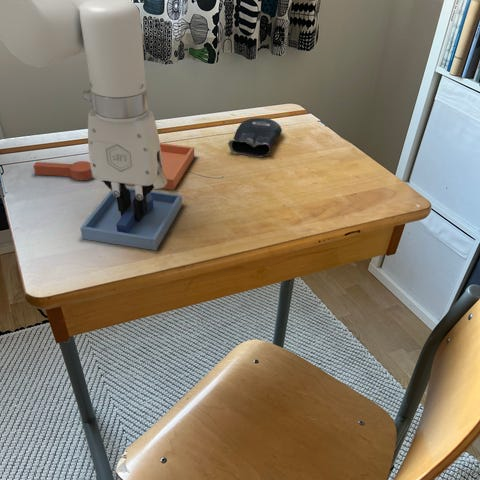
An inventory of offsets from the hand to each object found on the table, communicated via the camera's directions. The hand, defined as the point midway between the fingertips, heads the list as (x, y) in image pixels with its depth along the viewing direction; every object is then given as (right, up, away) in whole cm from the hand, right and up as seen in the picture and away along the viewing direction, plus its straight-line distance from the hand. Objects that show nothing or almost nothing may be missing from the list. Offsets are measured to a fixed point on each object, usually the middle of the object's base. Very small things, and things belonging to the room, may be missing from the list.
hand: (133, 215), depth 84 cm
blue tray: (0, -1, +1) cm, 1 cm away
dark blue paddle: (0, 0, 0) cm, 0 cm away
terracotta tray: (+1, +12, +15) cm, 20 cm away
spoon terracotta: (-15, +10, +12) cm, 22 cm away
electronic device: (+21, +21, +26) cm, 40 cm away
